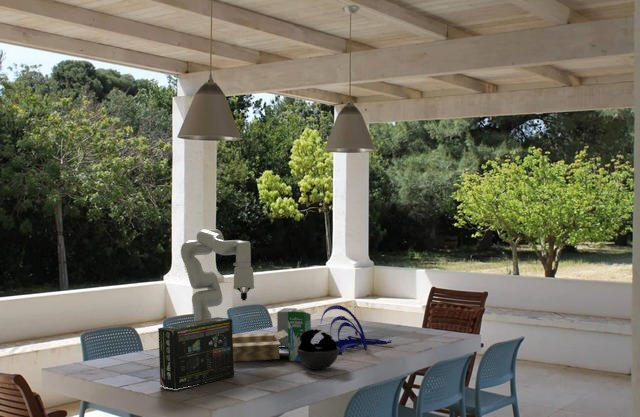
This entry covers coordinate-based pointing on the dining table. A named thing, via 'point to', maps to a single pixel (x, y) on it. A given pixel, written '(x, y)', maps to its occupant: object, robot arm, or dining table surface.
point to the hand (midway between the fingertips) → (243, 300)
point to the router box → (196, 352)
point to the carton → (255, 347)
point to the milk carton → (297, 331)
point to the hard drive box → (284, 323)
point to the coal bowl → (317, 350)
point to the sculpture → (356, 341)
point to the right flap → (281, 335)
